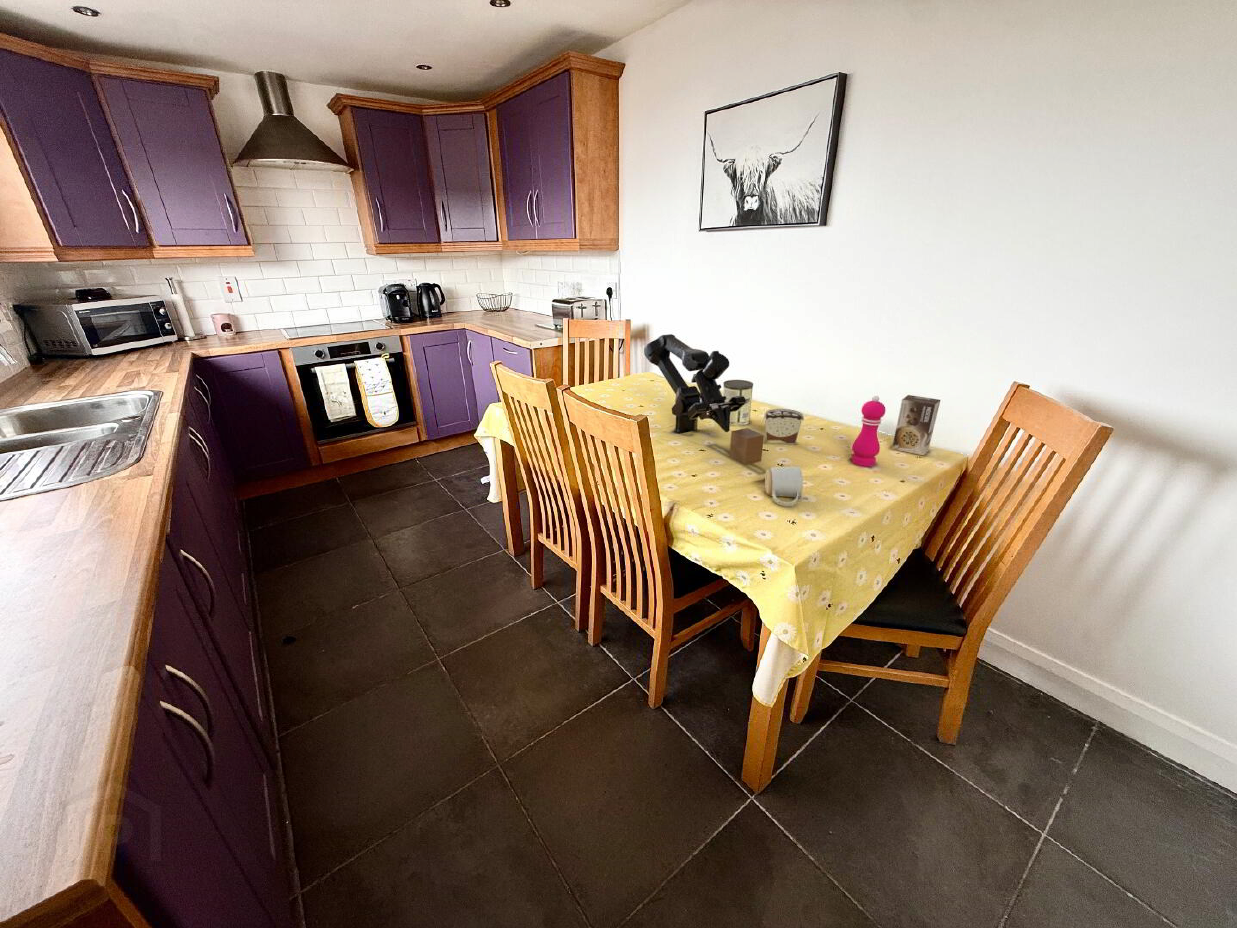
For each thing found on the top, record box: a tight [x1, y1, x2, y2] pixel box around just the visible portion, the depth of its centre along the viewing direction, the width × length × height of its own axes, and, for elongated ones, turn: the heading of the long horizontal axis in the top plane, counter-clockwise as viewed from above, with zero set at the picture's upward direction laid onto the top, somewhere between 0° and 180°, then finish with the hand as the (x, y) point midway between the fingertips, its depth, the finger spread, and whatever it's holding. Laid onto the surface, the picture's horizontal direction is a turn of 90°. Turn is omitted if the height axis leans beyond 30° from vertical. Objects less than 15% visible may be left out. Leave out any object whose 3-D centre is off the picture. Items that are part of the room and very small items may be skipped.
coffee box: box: [891, 394, 941, 456], centre depth 151 cm, size 9×6×16 cm
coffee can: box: [722, 379, 754, 426], centre depth 179 cm, size 10×10×14 cm
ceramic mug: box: [764, 466, 804, 508], centre depth 124 cm, size 11×8×8 cm
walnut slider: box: [728, 427, 765, 466], centre depth 144 cm, size 7×6×8 cm
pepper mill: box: [851, 395, 886, 467], centre depth 142 cm, size 7×7×20 cm
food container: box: [763, 408, 805, 445], centre depth 161 cm, size 12×6×10 cm, turn 84°
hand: (727, 431), depth 151 cm, fingers closed
